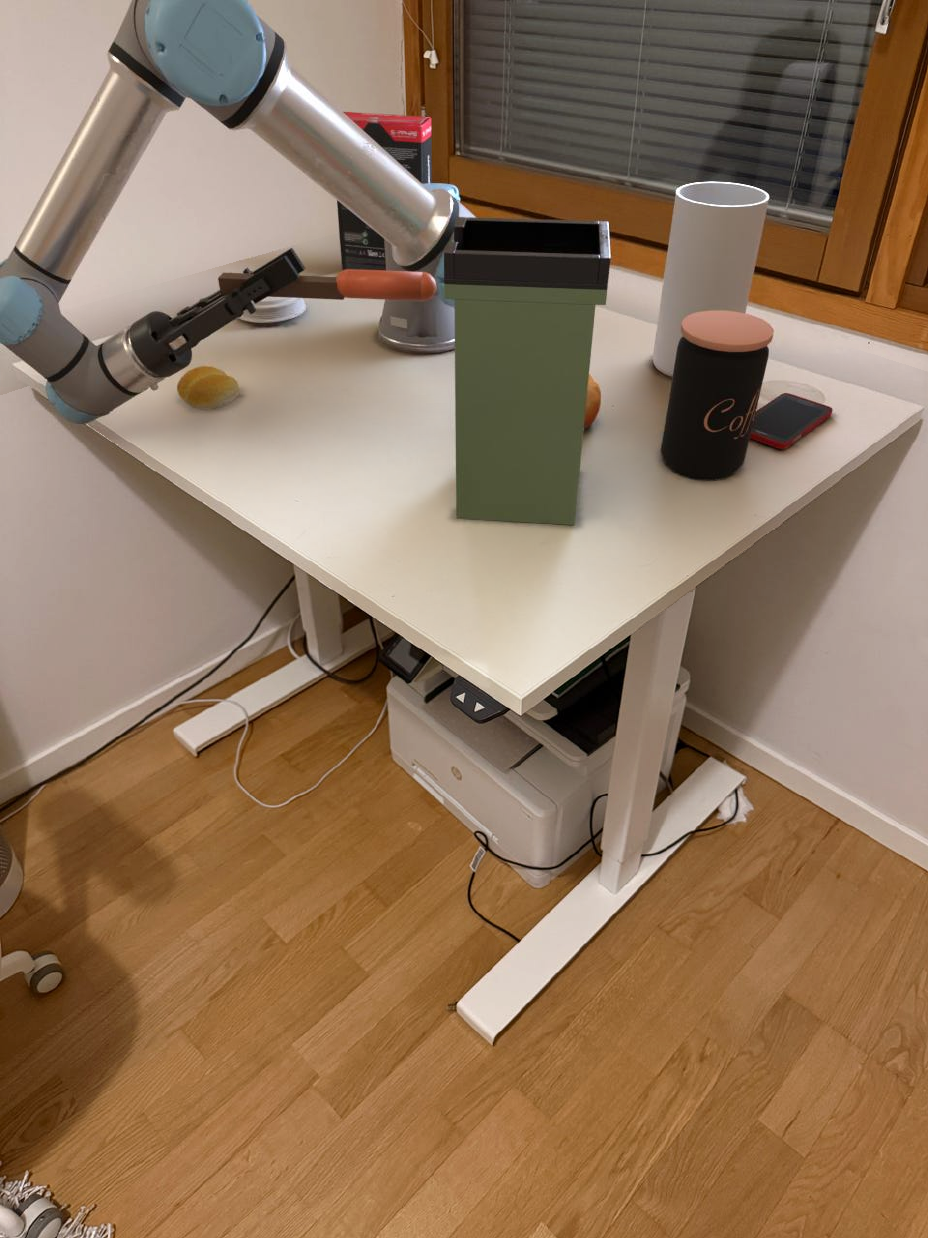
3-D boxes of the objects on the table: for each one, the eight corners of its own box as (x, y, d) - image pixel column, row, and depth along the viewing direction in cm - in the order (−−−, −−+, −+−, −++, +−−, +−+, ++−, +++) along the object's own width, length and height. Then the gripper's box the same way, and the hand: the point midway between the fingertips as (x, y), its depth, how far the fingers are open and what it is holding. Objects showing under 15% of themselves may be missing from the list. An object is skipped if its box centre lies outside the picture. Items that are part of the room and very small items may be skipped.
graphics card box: (436, 272, 170) (433, 112, 153) (427, 284, 165) (422, 120, 148) (352, 265, 173) (340, 108, 156) (340, 277, 168) (326, 115, 151)
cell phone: (833, 414, 124) (835, 407, 124) (783, 451, 116) (785, 445, 116) (783, 397, 128) (784, 391, 128) (731, 432, 120) (733, 426, 120)
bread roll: (200, 416, 124) (195, 390, 122) (171, 395, 130) (165, 369, 127) (252, 399, 128) (247, 373, 126) (221, 379, 134) (217, 354, 131)
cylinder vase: (700, 391, 130) (733, 211, 114) (635, 364, 138) (657, 192, 122) (749, 367, 137) (787, 194, 121) (685, 343, 144) (712, 177, 128)
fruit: (608, 399, 125) (606, 364, 118) (595, 446, 123) (593, 414, 115) (553, 391, 127) (548, 356, 120) (539, 437, 125) (533, 405, 117)
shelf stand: (447, 518, 104) (444, 283, 87) (458, 466, 114) (457, 245, 96) (583, 526, 103) (607, 289, 85) (583, 473, 112) (605, 250, 95)
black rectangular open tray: (444, 283, 87) (443, 252, 85) (457, 245, 96) (457, 216, 94) (607, 289, 85) (610, 258, 84) (605, 250, 95) (608, 221, 93)
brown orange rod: (219, 296, 105) (214, 269, 103) (227, 287, 107) (222, 260, 105) (434, 305, 103) (434, 277, 101) (438, 295, 105) (437, 268, 103)
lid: (225, 308, 156) (220, 279, 153) (293, 296, 160) (289, 268, 157) (245, 333, 147) (240, 303, 144) (316, 320, 152) (313, 290, 149)
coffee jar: (694, 491, 109) (721, 351, 97) (642, 453, 116) (662, 319, 105) (760, 470, 113) (794, 334, 101) (706, 435, 120) (732, 303, 108)
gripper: (189, 352, 120) (327, 270, 111) (147, 402, 108) (297, 314, 99) (152, 303, 116) (292, 214, 107) (104, 349, 104) (257, 253, 95)
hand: (294, 262), depth 103 cm, fingers closed on brown orange rod, 2 cm apart
